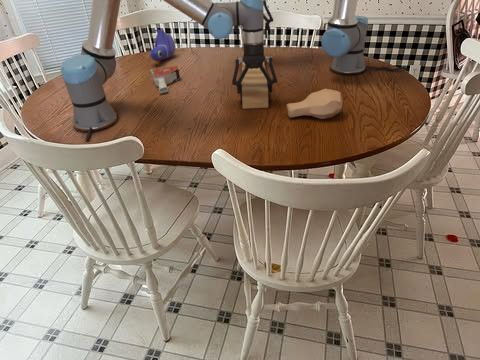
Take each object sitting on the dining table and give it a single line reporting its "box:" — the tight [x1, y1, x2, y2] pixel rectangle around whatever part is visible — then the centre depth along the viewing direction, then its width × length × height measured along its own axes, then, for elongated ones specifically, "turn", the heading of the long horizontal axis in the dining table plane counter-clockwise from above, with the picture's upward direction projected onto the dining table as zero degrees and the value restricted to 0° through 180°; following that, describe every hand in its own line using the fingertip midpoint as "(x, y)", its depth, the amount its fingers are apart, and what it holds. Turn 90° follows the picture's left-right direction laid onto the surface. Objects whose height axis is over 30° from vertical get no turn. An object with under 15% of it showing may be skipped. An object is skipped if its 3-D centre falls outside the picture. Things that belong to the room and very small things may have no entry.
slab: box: [241, 47, 269, 110], centre depth 158 cm, size 58×10×7 cm, turn 179°
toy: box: [148, 28, 176, 66], centre depth 186 cm, size 10×17×25 cm
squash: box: [285, 88, 344, 120], centre depth 126 cm, size 11×20×9 cm, turn 92°
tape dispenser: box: [149, 65, 181, 94], centre depth 160 cm, size 18×5×20 cm
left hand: (255, 100), depth 141 cm, fingers closed on slab, 10 cm apart
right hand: (252, 38), depth 171 cm, fingers open, 13 cm apart
